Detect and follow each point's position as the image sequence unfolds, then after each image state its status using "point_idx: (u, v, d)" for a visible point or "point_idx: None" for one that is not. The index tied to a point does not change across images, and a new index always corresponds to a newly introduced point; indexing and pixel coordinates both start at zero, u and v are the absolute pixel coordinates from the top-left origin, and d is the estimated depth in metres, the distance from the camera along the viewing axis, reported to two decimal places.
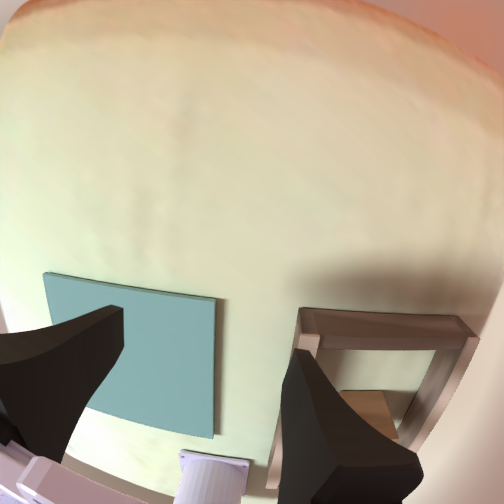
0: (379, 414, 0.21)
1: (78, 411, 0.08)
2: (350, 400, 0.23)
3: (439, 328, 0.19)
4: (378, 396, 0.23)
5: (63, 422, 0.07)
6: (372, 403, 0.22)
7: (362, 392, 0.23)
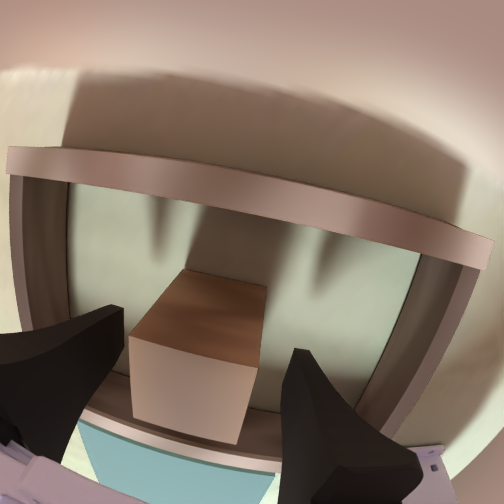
0: None
1: (78, 411, 0.08)
2: None
3: None
4: None
5: (63, 422, 0.07)
6: None
7: None
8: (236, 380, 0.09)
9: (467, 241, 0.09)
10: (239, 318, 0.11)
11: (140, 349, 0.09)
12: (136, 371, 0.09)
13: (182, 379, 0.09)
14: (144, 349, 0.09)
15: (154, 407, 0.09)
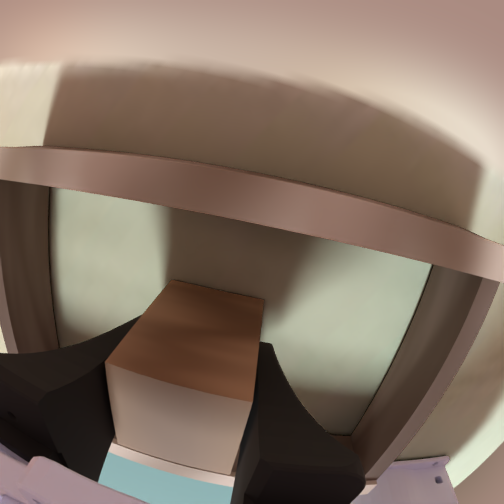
0: None
1: None
2: None
3: None
4: None
5: (101, 440, 0.07)
6: None
7: None
8: (228, 414, 0.07)
9: (488, 251, 0.07)
10: (232, 339, 0.10)
11: (118, 377, 0.07)
12: (116, 399, 0.07)
13: (166, 410, 0.07)
14: (123, 377, 0.07)
15: (139, 436, 0.08)
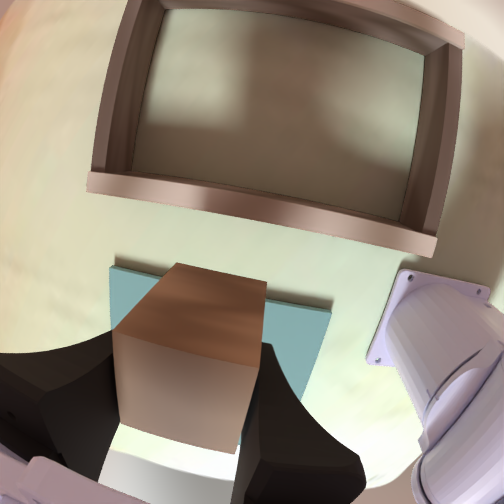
0: None
1: (114, 426, 0.08)
2: None
3: None
4: None
5: (101, 440, 0.07)
6: None
7: None
8: (234, 383, 0.07)
9: (445, 27, 0.11)
10: (237, 313, 0.10)
11: (125, 347, 0.07)
12: (121, 371, 0.08)
13: (172, 380, 0.08)
14: (130, 346, 0.07)
15: (142, 412, 0.08)
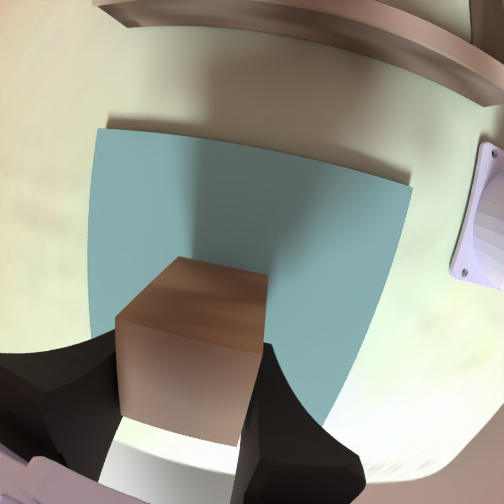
0: None
1: (115, 426, 0.08)
2: None
3: None
4: None
5: (101, 440, 0.07)
6: None
7: None
8: (237, 370, 0.08)
9: None
10: (240, 303, 0.10)
11: (128, 334, 0.08)
12: (123, 360, 0.08)
13: (174, 368, 0.08)
14: (132, 333, 0.08)
15: (144, 403, 0.08)
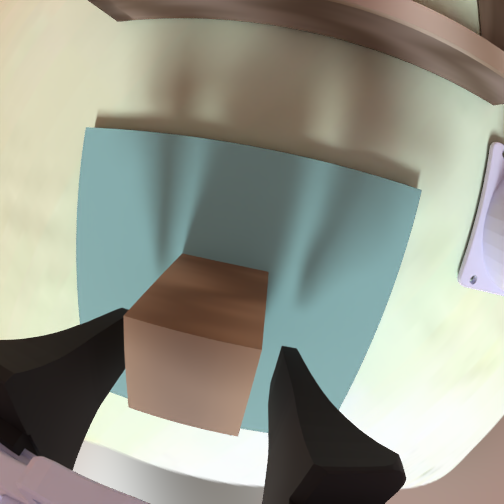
0: None
1: (90, 416, 0.08)
2: None
3: None
4: None
5: (75, 428, 0.07)
6: None
7: None
8: (238, 364, 0.08)
9: None
10: (241, 300, 0.10)
11: (136, 331, 0.08)
12: (131, 355, 0.08)
13: (179, 363, 0.08)
14: (140, 330, 0.08)
15: (150, 396, 0.09)
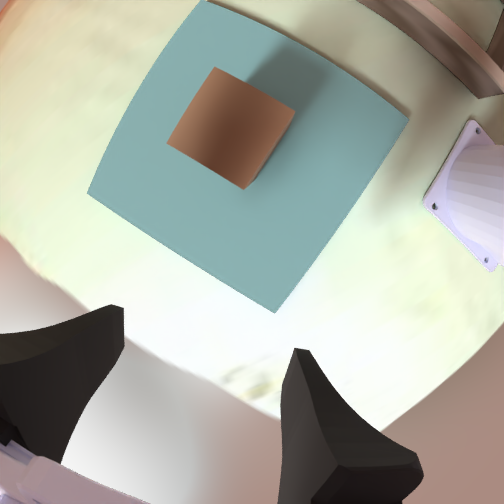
0: None
1: (78, 411, 0.08)
2: None
3: None
4: None
5: (63, 422, 0.07)
6: None
7: None
8: (276, 117, 0.12)
9: None
10: None
11: (216, 78, 0.11)
12: (201, 94, 0.12)
13: (235, 106, 0.12)
14: (221, 77, 0.11)
15: (194, 132, 0.12)
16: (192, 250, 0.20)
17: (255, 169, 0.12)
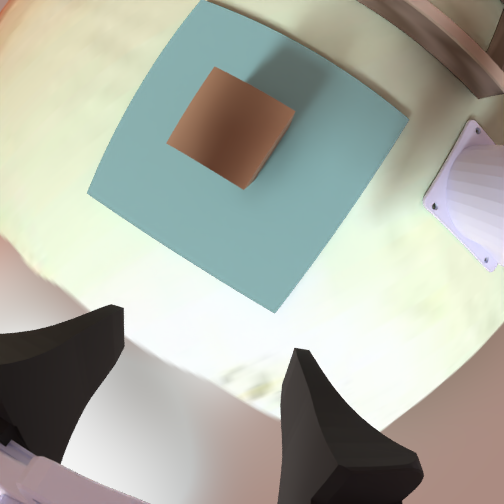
0: None
1: (78, 411, 0.08)
2: None
3: None
4: None
5: (63, 422, 0.07)
6: None
7: None
8: (276, 117, 0.12)
9: None
10: None
11: (216, 77, 0.11)
12: (201, 94, 0.12)
13: (235, 106, 0.12)
14: (221, 77, 0.11)
15: (194, 132, 0.12)
16: (192, 250, 0.20)
17: (255, 169, 0.12)
